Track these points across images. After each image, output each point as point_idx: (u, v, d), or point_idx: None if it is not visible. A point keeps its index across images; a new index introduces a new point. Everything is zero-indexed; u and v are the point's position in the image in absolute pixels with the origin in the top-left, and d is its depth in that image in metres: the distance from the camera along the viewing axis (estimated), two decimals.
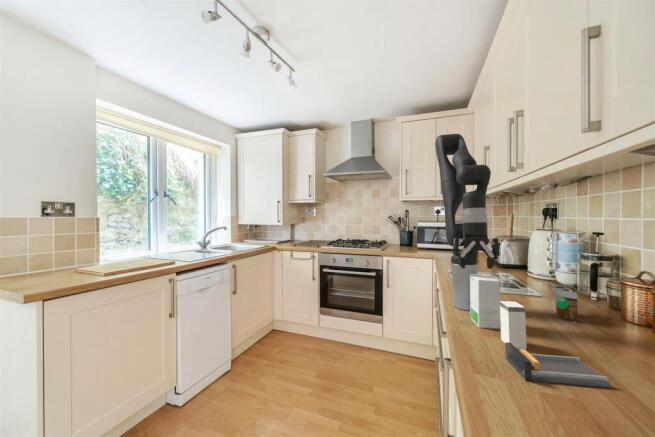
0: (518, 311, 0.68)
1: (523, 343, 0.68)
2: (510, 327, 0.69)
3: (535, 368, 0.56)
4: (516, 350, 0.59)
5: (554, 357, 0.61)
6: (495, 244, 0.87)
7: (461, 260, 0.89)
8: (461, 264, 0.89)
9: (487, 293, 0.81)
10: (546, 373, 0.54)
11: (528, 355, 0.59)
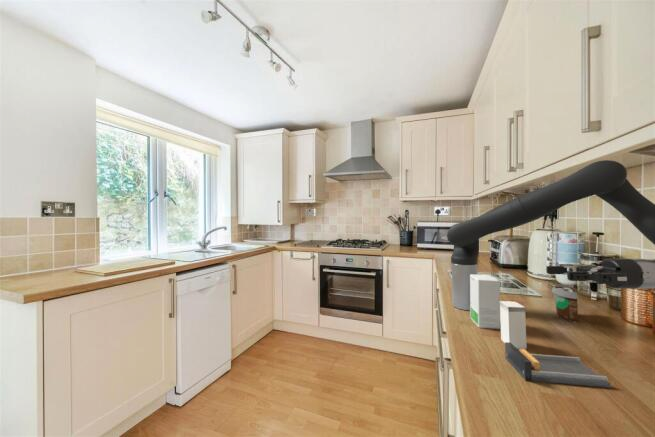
0: (518, 311, 0.68)
1: (523, 343, 0.68)
2: (510, 327, 0.69)
3: (535, 368, 0.56)
4: (516, 350, 0.59)
5: (554, 357, 0.61)
6: None
7: (583, 279, 0.63)
8: None
9: (487, 293, 0.81)
10: (546, 373, 0.54)
11: (528, 355, 0.59)
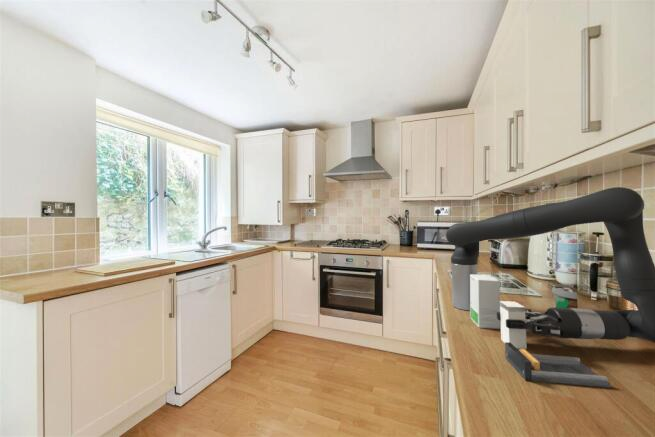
0: (518, 311, 0.68)
1: (523, 343, 0.68)
2: None
3: (535, 368, 0.56)
4: (516, 350, 0.59)
5: (554, 357, 0.61)
6: (525, 318, 0.75)
7: None
8: None
9: (487, 293, 0.81)
10: (546, 373, 0.54)
11: (528, 355, 0.59)
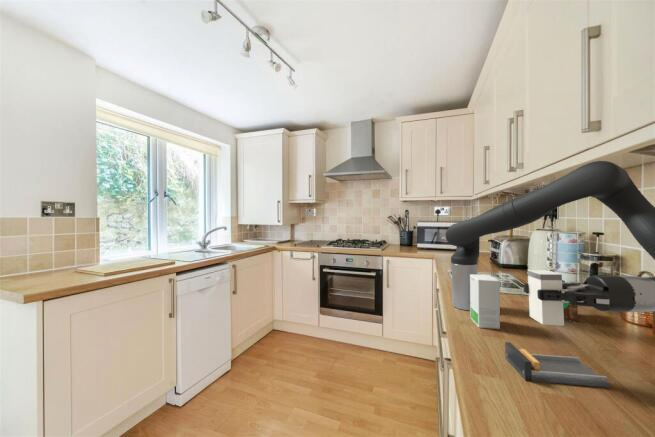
0: (553, 279, 0.56)
1: (560, 318, 0.55)
2: None
3: (535, 368, 0.56)
4: (516, 350, 0.59)
5: (554, 357, 0.61)
6: None
7: None
8: None
9: (487, 293, 0.81)
10: (546, 373, 0.54)
11: (528, 355, 0.59)
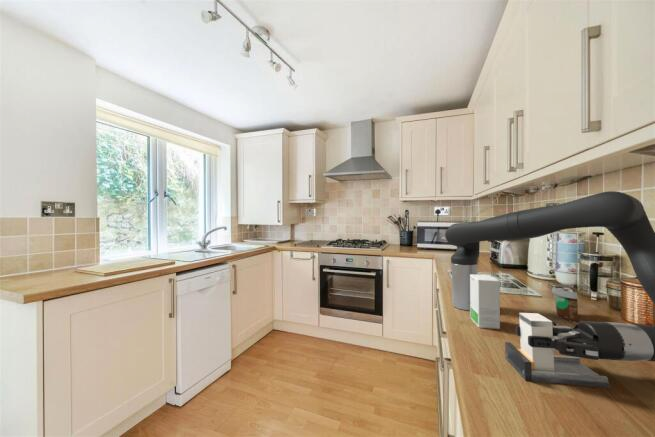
0: (544, 326, 0.56)
1: (550, 365, 0.56)
2: None
3: None
4: (516, 350, 0.59)
5: (554, 357, 0.61)
6: None
7: None
8: None
9: (487, 293, 0.81)
10: (546, 373, 0.54)
11: None
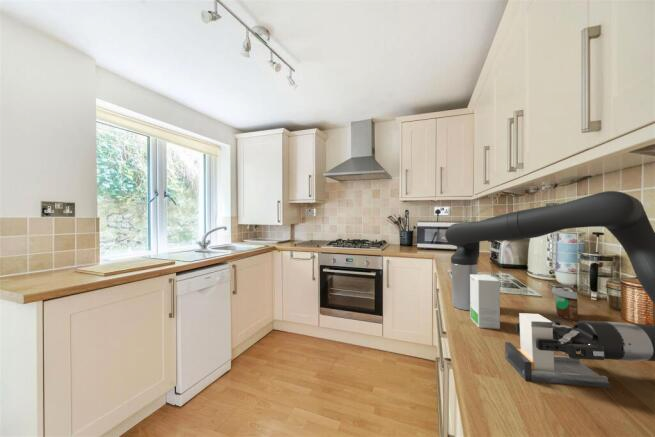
0: (544, 327, 0.56)
1: (550, 366, 0.56)
2: (533, 346, 0.56)
3: None
4: (516, 350, 0.59)
5: (554, 357, 0.61)
6: None
7: None
8: None
9: (487, 293, 0.81)
10: (546, 373, 0.54)
11: None
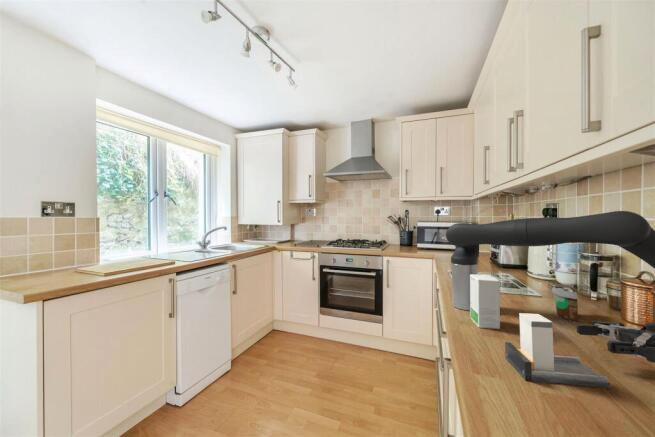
0: (544, 327, 0.56)
1: (550, 366, 0.56)
2: (533, 346, 0.56)
3: None
4: (516, 350, 0.59)
5: (554, 357, 0.61)
6: (614, 333, 0.60)
7: None
8: None
9: (487, 293, 0.81)
10: (546, 373, 0.54)
11: None
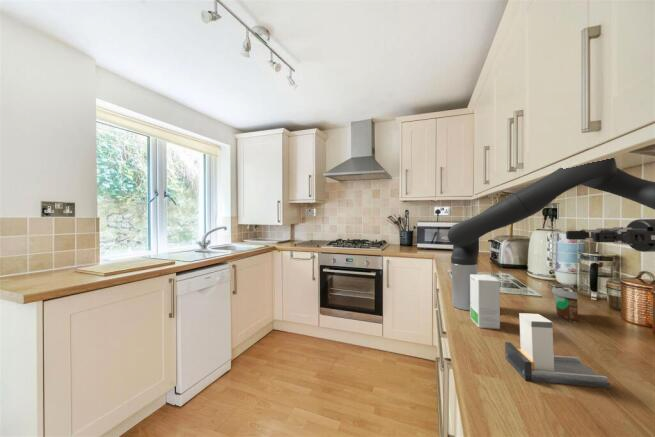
0: (544, 327, 0.56)
1: (550, 366, 0.56)
2: (533, 346, 0.56)
3: None
4: (516, 350, 0.59)
5: (554, 357, 0.61)
6: None
7: (611, 240, 0.56)
8: (603, 240, 0.57)
9: (487, 293, 0.81)
10: (546, 373, 0.54)
11: None
